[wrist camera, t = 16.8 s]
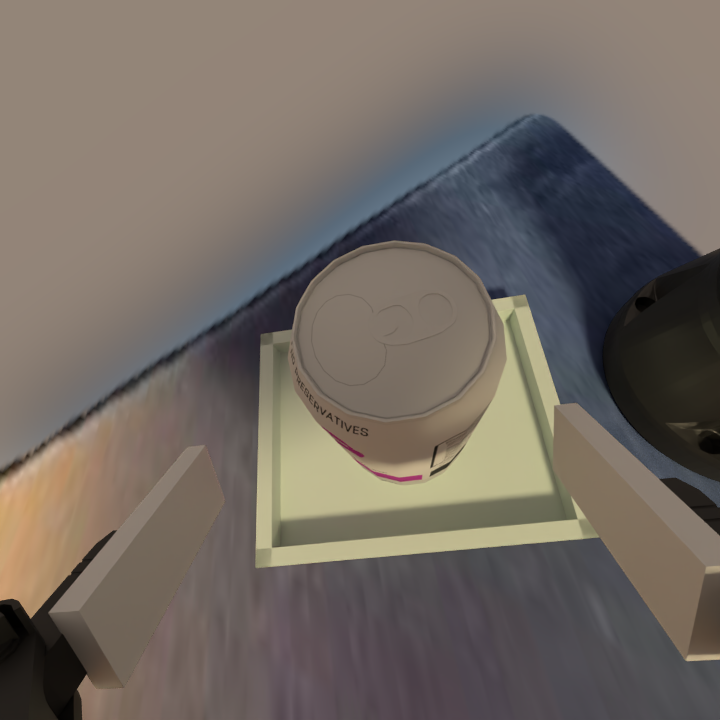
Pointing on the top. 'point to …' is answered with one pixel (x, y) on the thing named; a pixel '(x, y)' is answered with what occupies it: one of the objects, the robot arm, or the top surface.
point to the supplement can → (397, 357)
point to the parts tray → (417, 501)
